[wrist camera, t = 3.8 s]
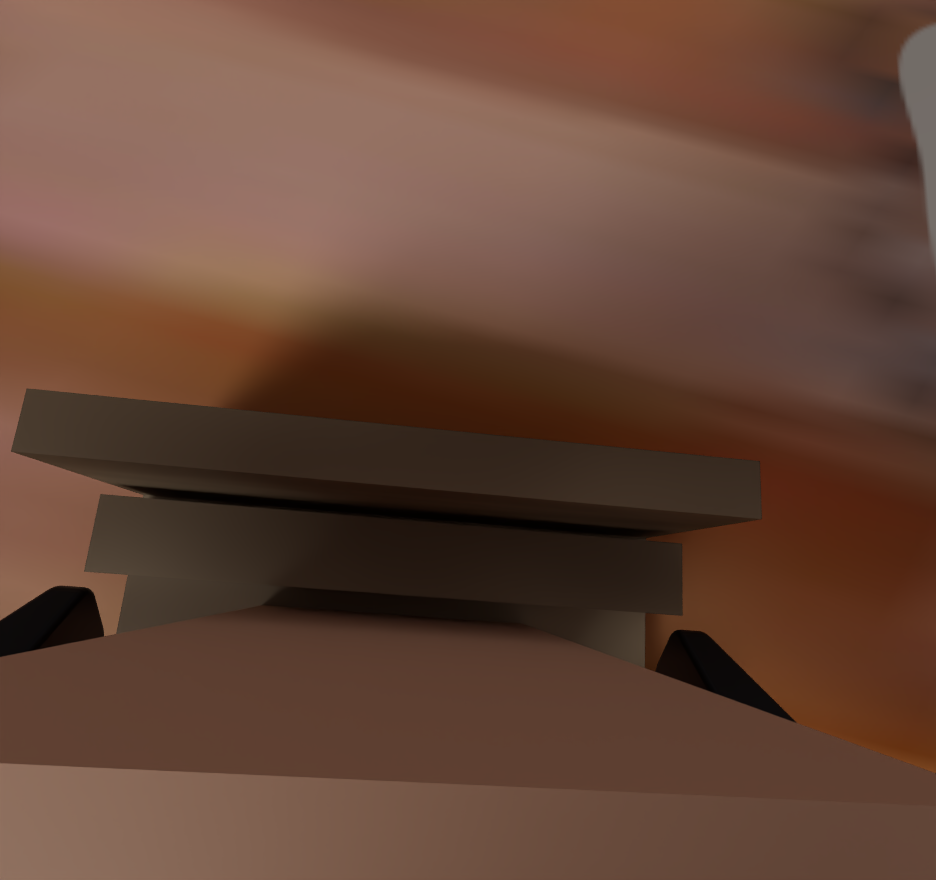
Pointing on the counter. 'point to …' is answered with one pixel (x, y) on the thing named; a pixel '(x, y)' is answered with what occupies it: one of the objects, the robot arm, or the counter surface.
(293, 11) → the counter surface
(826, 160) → the counter surface
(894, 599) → the counter surface
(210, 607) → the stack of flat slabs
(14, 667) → the beige flat slab
